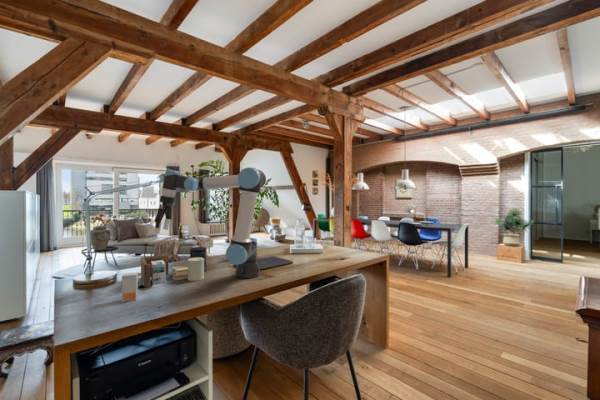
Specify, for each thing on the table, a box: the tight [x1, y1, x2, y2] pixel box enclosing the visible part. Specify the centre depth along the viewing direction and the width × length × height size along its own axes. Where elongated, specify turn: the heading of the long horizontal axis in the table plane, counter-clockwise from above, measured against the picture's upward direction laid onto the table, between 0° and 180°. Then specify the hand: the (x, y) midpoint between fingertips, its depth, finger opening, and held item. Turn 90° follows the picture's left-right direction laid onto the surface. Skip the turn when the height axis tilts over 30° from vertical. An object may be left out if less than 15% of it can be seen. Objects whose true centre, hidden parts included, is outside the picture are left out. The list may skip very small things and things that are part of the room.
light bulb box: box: [150, 260, 167, 285], centre depth 161 cm, size 11×7×11 cm, turn 32°
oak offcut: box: [171, 272, 188, 281], centre depth 168 cm, size 10×8×3 cm
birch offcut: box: [171, 265, 188, 276], centre depth 168 cm, size 9×7×3 cm
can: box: [187, 257, 205, 282], centre depth 165 cm, size 9×9×12 cm
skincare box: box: [121, 272, 139, 303], centre depth 131 cm, size 6×4×12 cm
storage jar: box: [189, 246, 207, 273], centre depth 180 cm, size 10×10×15 cm
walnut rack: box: [140, 254, 170, 288], centre depth 162 cm, size 22×15×12 cm
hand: (161, 231), depth 165 cm, fingers open, 13 cm apart
